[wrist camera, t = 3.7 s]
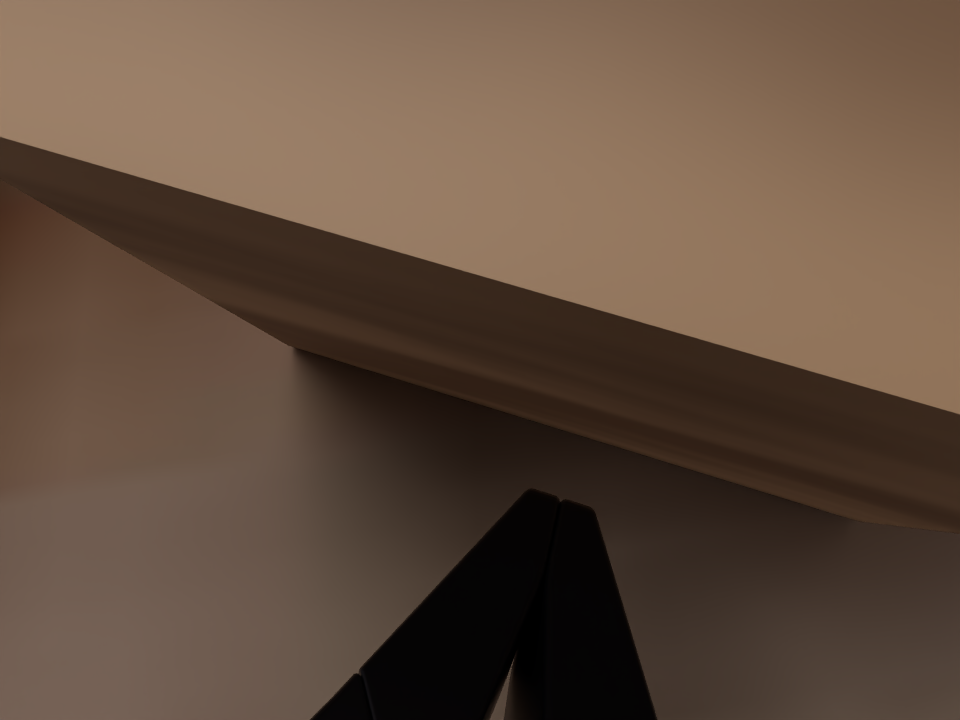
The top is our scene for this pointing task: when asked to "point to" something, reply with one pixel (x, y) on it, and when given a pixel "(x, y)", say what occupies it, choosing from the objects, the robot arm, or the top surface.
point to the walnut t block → (550, 209)
